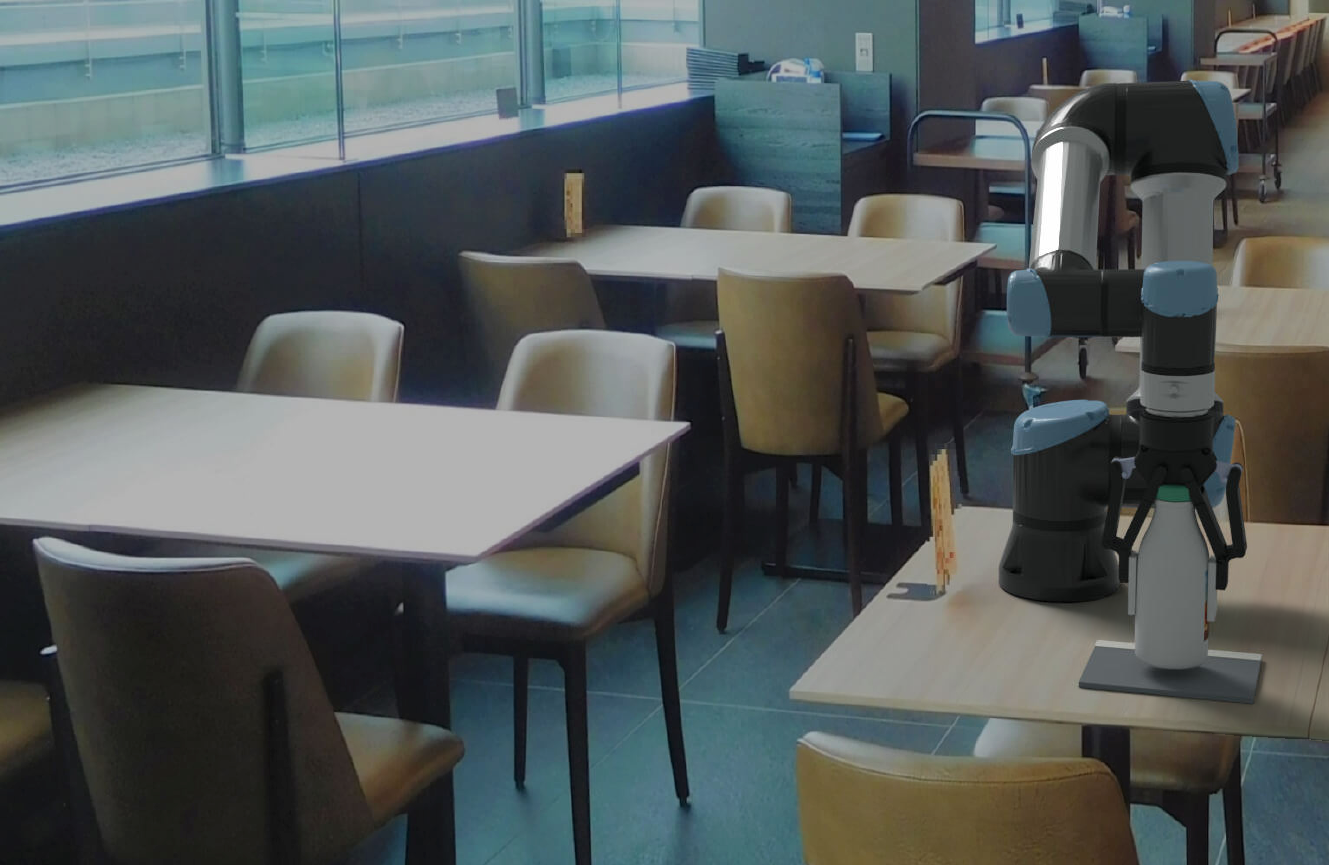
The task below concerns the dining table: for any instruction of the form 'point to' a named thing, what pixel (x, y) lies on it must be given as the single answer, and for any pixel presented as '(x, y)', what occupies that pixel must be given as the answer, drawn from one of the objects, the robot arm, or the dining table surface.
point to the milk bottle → (1172, 585)
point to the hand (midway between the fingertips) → (1172, 613)
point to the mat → (1173, 674)
